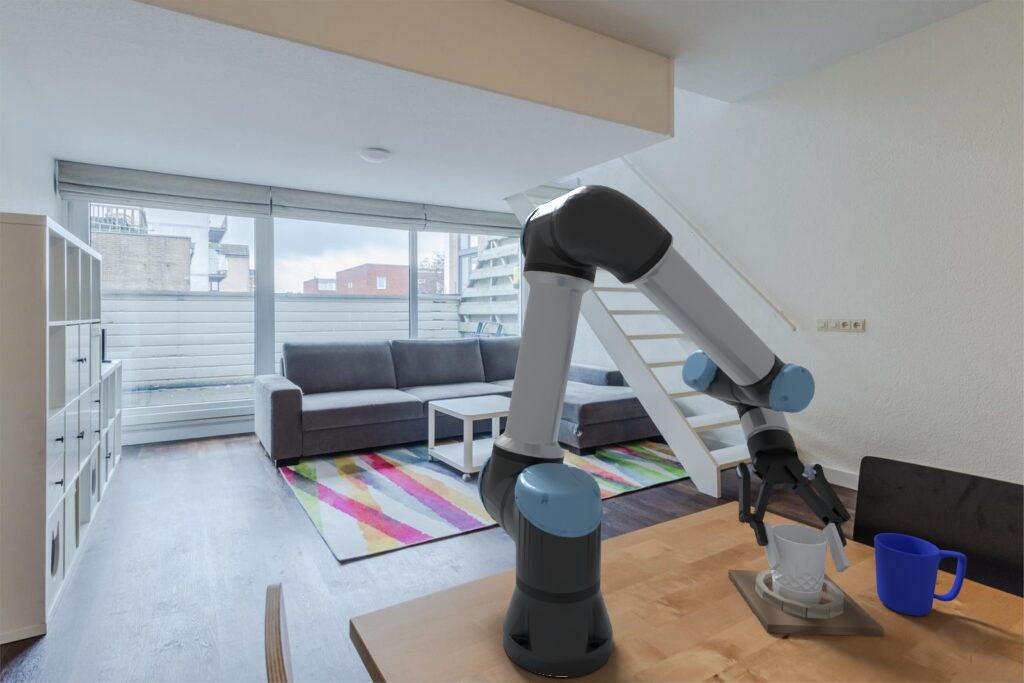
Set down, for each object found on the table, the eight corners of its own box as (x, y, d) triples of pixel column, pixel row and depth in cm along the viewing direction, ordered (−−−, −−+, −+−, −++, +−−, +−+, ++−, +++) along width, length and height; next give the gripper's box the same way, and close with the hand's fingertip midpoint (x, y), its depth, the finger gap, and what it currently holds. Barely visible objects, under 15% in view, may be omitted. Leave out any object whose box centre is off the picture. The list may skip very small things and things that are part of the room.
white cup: (826, 591, 85) (829, 530, 84) (823, 615, 78) (826, 549, 77) (771, 577, 89) (773, 519, 88) (765, 599, 82) (767, 536, 82)
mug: (980, 628, 77) (983, 560, 77) (886, 618, 80) (889, 553, 79) (946, 598, 85) (949, 537, 85) (862, 590, 88) (865, 530, 87)
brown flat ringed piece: (767, 632, 76) (767, 614, 76) (728, 576, 92) (728, 561, 92) (883, 636, 75) (884, 618, 75) (823, 579, 91) (824, 564, 91)
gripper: (823, 450, 97) (873, 578, 82) (701, 448, 98) (728, 574, 83) (840, 427, 91) (898, 561, 76) (710, 425, 93) (742, 556, 78)
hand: (809, 568), depth 80 cm, fingers open, 9 cm apart
